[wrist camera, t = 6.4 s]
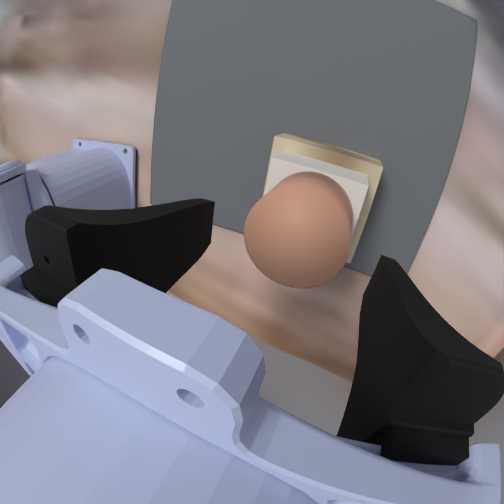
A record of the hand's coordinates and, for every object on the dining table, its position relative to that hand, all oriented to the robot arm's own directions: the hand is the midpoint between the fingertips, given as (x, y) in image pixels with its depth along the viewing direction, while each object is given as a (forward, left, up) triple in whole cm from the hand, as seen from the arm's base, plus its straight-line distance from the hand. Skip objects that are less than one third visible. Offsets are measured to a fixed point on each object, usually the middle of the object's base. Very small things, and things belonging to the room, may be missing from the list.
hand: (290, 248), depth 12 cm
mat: (-3, +6, -9) cm, 11 cm away
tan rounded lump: (0, 0, -4) cm, 4 cm away
